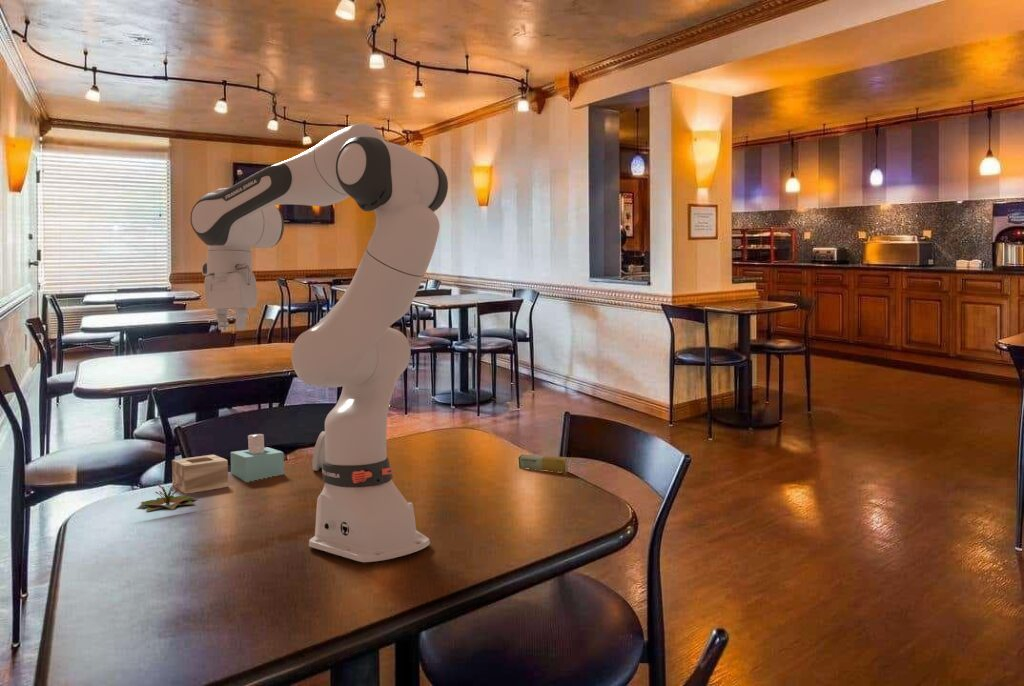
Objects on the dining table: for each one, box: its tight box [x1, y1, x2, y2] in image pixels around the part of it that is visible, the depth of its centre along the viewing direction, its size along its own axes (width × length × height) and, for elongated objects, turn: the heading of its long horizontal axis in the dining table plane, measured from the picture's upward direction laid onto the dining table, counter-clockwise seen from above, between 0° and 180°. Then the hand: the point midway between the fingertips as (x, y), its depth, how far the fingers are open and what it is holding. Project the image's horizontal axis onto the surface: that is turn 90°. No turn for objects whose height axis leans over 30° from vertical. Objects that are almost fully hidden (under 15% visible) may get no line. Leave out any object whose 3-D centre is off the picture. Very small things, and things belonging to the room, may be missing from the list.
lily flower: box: [135, 482, 198, 512], centre depth 141 cm, size 12×12×5 cm
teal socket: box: [230, 446, 285, 483], centre depth 164 cm, size 9×9×6 cm
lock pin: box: [247, 433, 265, 455], centre depth 164 cm, size 4×4×9 cm
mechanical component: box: [311, 430, 325, 472], centre depth 169 cm, size 10×4×10 cm, turn 179°
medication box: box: [518, 454, 569, 475], centre depth 166 cm, size 12×3×4 cm, turn 66°
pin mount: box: [171, 454, 229, 495], centre depth 155 cm, size 9×9×6 cm
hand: (231, 330), depth 149 cm, fingers open, 8 cm apart
